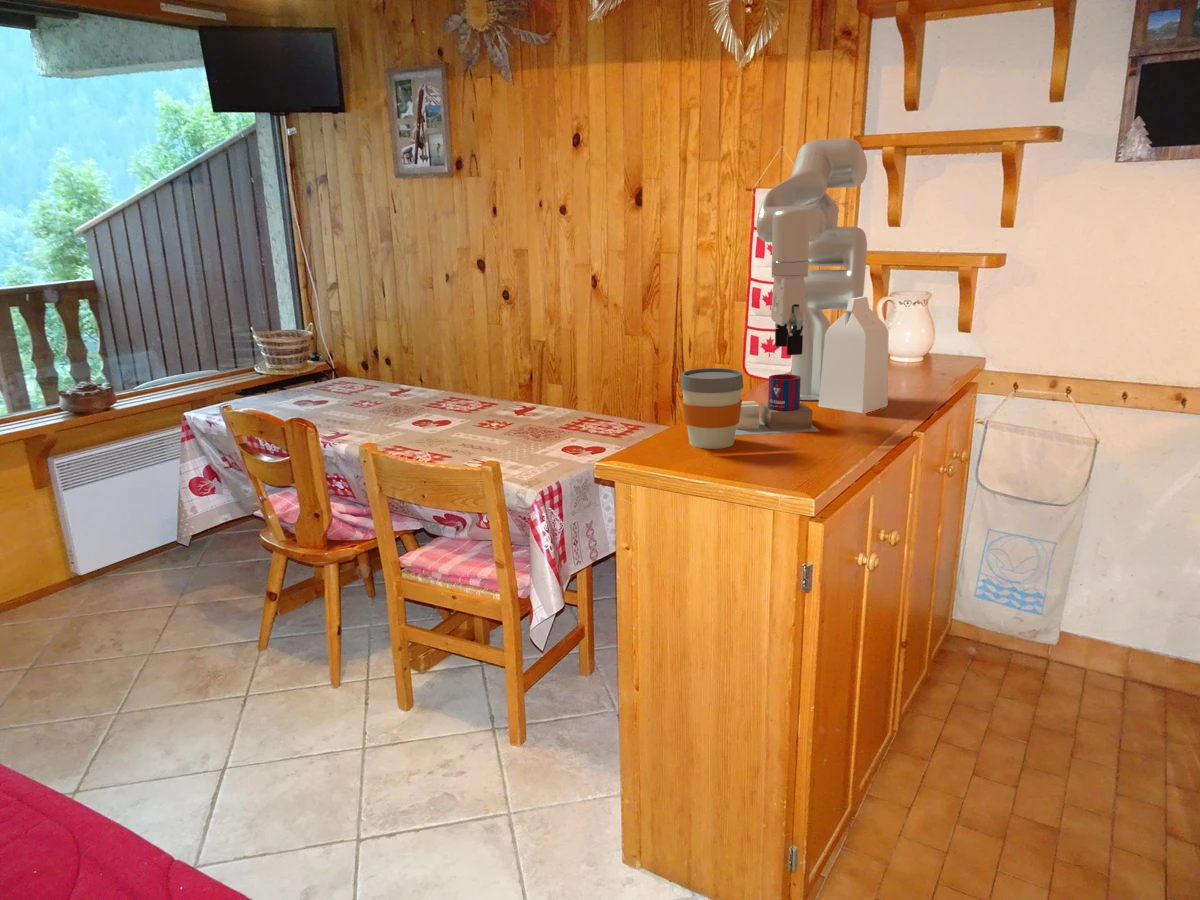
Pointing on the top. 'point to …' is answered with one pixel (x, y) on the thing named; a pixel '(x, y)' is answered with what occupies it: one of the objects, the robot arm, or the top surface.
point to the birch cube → (749, 416)
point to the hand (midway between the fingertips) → (788, 350)
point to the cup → (784, 392)
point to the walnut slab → (786, 418)
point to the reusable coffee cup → (711, 406)
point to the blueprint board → (765, 430)
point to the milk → (855, 361)
